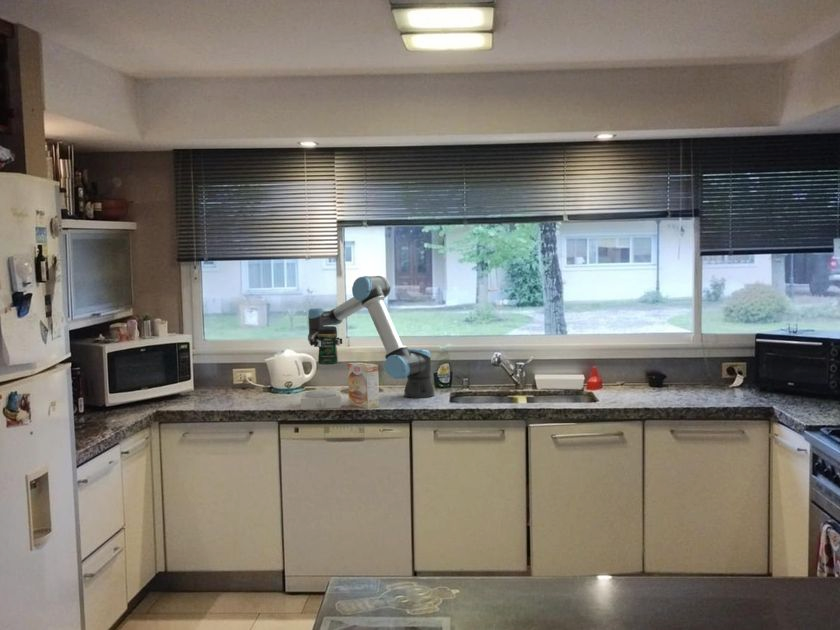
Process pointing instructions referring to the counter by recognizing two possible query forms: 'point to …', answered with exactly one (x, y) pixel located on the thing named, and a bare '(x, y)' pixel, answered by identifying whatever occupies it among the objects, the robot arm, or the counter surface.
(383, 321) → the robot arm
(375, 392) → the coffeecake box
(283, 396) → the counter surface
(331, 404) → the clear plastic food container
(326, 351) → the coffee jar
